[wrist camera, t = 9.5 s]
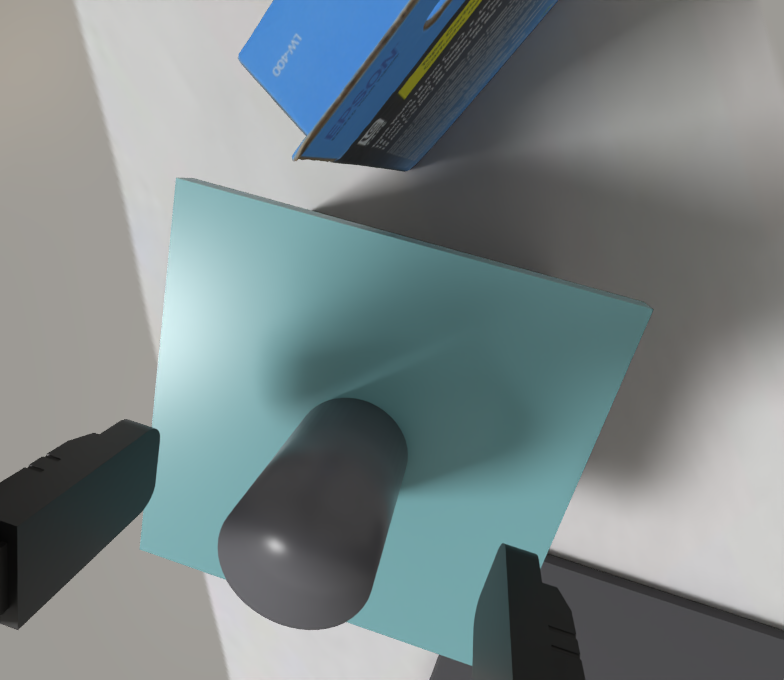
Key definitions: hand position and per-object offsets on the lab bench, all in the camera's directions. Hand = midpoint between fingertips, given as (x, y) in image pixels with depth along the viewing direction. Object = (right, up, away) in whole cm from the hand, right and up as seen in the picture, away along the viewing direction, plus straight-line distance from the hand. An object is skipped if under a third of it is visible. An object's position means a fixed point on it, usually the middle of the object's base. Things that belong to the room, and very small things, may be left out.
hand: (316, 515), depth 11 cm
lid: (+1, +1, +4) cm, 4 cm away
